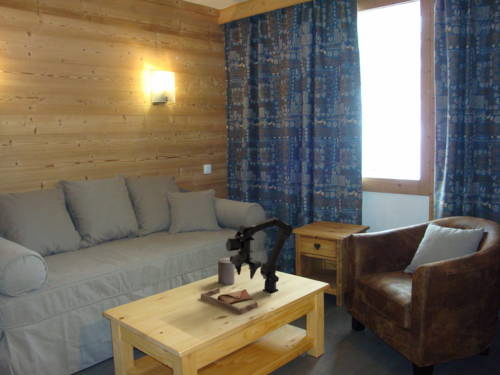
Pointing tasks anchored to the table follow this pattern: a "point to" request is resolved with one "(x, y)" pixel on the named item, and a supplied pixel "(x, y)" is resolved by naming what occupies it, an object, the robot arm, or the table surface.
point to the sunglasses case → (235, 297)
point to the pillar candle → (226, 271)
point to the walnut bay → (225, 305)
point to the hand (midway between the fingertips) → (245, 276)
